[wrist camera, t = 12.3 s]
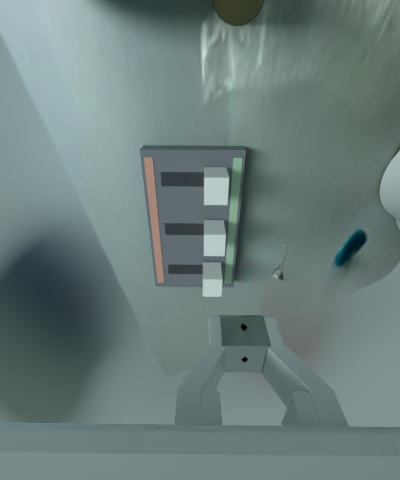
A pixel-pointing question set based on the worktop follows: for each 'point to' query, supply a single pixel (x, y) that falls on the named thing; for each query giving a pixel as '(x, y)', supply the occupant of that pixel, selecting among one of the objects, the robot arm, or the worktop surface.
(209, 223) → the switch
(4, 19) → the worktop surface
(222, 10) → the cork
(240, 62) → the worktop surface
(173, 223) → the switch board
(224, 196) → the switch
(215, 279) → the switch
